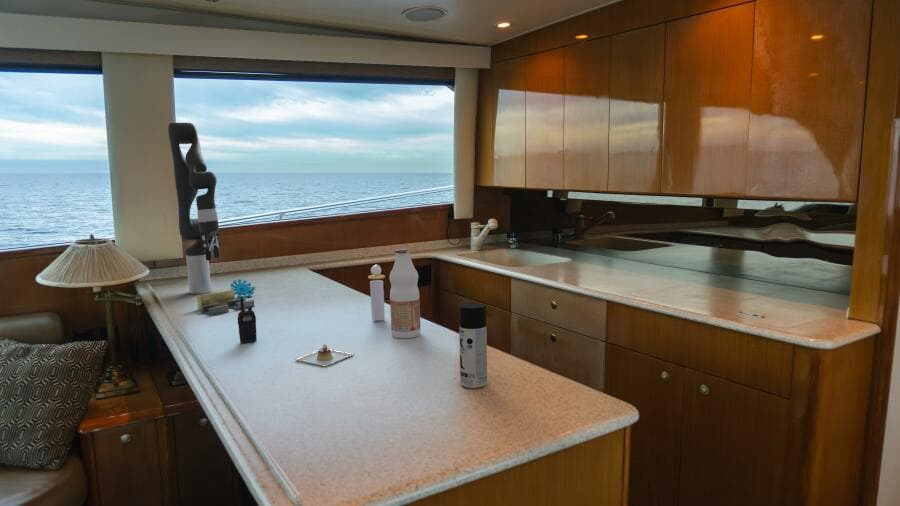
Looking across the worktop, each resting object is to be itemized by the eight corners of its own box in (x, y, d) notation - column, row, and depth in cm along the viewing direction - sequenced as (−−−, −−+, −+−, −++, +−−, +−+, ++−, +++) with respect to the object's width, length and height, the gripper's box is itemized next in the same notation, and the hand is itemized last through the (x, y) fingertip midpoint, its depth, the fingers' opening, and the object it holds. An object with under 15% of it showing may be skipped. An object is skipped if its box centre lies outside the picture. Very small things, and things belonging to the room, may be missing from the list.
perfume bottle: (381, 323, 208) (378, 266, 205) (367, 322, 211) (364, 266, 208) (389, 319, 213) (387, 264, 210) (375, 318, 216) (373, 263, 213)
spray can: (459, 380, 151) (457, 302, 148) (485, 378, 152) (484, 301, 149) (461, 390, 144) (459, 309, 142) (489, 388, 145) (488, 307, 142)
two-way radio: (240, 344, 187) (236, 297, 185) (238, 341, 191) (234, 295, 189) (258, 341, 190) (255, 295, 188) (255, 338, 194) (252, 293, 192)
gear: (234, 297, 250) (228, 278, 255) (229, 305, 254) (224, 286, 259) (259, 296, 258) (253, 278, 263) (254, 304, 261) (249, 286, 266)
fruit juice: (397, 340, 187) (394, 252, 183) (387, 333, 195) (383, 248, 191) (425, 336, 191) (422, 249, 187) (414, 329, 199) (411, 246, 195)
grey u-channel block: (201, 312, 231) (200, 306, 231) (243, 303, 245) (243, 297, 244) (211, 315, 226) (211, 309, 226) (254, 306, 239) (254, 300, 239)
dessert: (325, 370, 163) (324, 353, 163) (294, 363, 170) (293, 346, 169) (354, 357, 173) (354, 341, 173) (324, 351, 180) (323, 336, 179)
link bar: (198, 309, 237) (196, 294, 236) (231, 303, 247) (230, 288, 247) (202, 310, 235) (200, 295, 234) (235, 304, 245) (233, 289, 245)
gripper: (206, 220, 255) (211, 257, 257) (191, 222, 241) (197, 261, 243) (223, 218, 255) (228, 256, 257) (210, 220, 241) (215, 260, 243)
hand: (213, 258), depth 250 cm, fingers open, 8 cm apart
